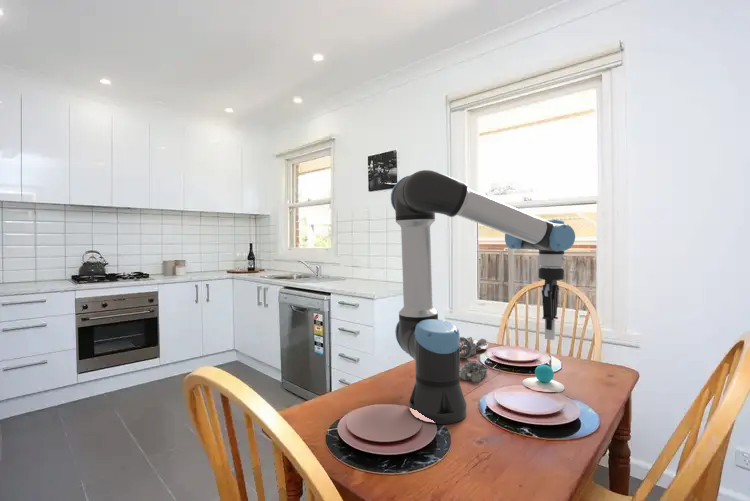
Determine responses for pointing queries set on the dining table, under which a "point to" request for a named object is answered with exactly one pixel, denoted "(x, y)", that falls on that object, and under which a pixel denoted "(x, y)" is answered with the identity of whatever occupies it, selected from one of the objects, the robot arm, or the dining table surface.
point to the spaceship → (471, 346)
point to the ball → (544, 373)
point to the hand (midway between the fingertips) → (549, 338)
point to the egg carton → (473, 371)
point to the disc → (544, 384)
